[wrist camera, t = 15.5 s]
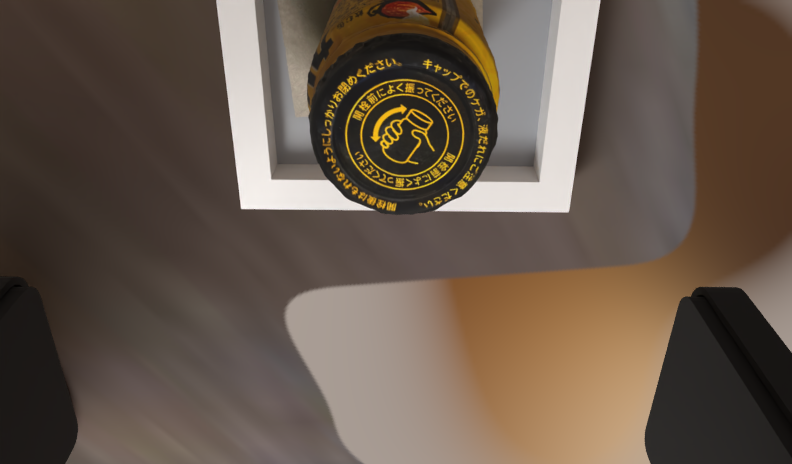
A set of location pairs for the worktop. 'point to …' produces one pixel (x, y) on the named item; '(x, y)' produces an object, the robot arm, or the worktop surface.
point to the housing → (517, 109)
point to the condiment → (394, 96)
